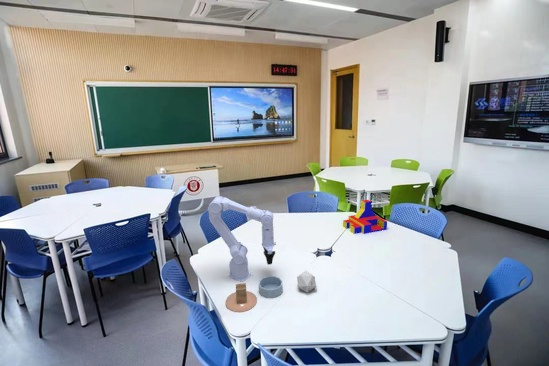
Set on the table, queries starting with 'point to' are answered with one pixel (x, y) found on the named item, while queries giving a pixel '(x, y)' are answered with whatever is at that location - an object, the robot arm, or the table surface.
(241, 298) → the walnut block
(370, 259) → the table surface
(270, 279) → the bowl
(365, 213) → the building blocks toy
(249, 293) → the peach round plate
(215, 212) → the robot arm
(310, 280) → the die
